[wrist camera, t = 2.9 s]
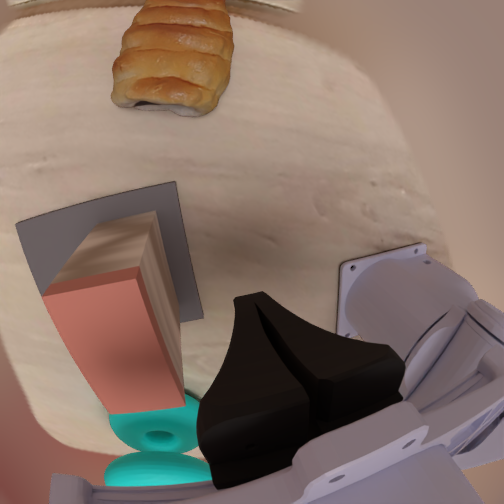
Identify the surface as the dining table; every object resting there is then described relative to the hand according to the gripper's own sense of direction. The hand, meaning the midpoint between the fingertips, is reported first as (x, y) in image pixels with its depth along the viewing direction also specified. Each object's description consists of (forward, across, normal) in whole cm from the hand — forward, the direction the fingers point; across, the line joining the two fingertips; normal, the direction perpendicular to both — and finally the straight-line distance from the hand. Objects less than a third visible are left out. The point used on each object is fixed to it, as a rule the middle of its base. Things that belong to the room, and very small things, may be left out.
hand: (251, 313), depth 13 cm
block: (+7, +6, 0) cm, 9 cm away
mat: (+8, +8, 0) cm, 12 cm away
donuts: (+8, +9, +16) cm, 20 cm away
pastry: (+8, +2, -13) cm, 16 cm away
